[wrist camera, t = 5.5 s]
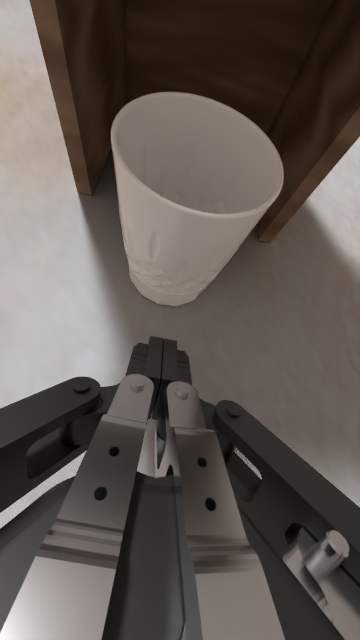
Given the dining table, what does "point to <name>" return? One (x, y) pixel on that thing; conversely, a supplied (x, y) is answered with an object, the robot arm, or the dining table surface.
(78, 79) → the wooden step stool
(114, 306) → the dining table surface
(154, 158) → the white cup
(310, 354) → the dining table surface
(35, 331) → the dining table surface
